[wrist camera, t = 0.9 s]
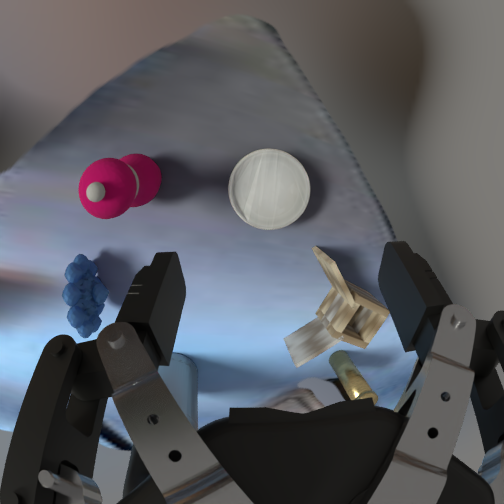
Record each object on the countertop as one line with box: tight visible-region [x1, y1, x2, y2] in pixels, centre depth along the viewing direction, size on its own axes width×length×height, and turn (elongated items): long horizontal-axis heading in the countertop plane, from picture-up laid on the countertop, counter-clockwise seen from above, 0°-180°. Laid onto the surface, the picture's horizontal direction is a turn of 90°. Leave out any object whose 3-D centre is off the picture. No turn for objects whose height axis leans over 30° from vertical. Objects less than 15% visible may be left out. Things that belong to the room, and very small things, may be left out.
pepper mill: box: [79, 154, 162, 219], centre depth 32 cm, size 7×7×20 cm
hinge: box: [283, 246, 390, 368], centre depth 48 cm, size 18×15×8 cm
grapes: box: [62, 254, 109, 338], centre depth 39 cm, size 12×7×12 cm, turn 6°
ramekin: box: [228, 149, 310, 230], centre depth 42 cm, size 11×11×5 cm
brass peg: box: [329, 350, 378, 405], centre depth 50 cm, size 4×4×14 cm
